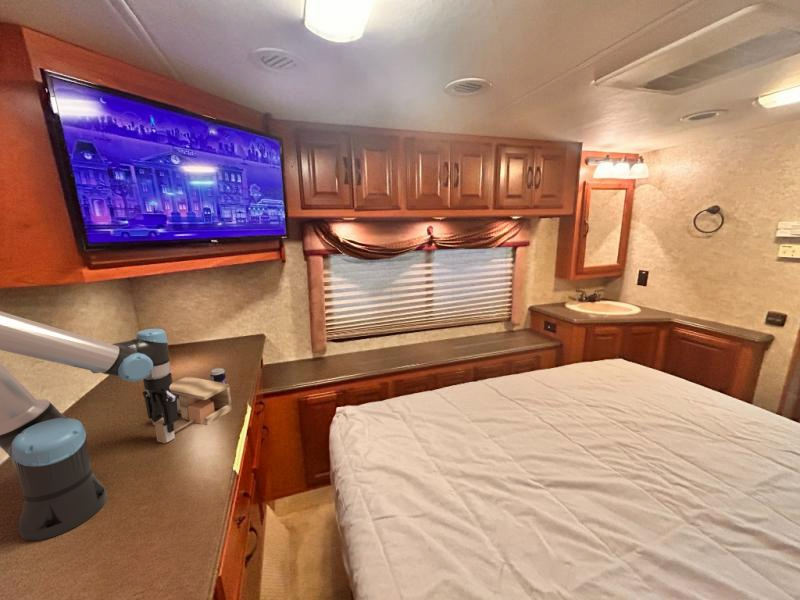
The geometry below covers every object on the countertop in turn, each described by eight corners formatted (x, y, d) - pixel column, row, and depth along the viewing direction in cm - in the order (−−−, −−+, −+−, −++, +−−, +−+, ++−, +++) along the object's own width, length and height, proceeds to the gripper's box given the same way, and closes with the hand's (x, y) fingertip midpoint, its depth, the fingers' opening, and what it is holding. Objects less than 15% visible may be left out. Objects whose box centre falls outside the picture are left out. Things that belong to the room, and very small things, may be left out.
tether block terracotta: (167, 444, 107) (164, 425, 105) (154, 440, 109) (152, 422, 107) (215, 415, 124) (213, 399, 123) (203, 413, 126) (201, 397, 125)
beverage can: (220, 399, 137) (218, 373, 135) (209, 397, 138) (206, 372, 136) (230, 393, 143) (227, 368, 141) (219, 391, 144) (216, 367, 142)
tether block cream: (161, 427, 117) (159, 409, 115) (150, 424, 118) (147, 407, 117) (199, 407, 131) (197, 391, 129) (188, 404, 133) (186, 389, 131)
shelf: (207, 424, 118) (204, 397, 116) (164, 413, 125) (160, 387, 123) (231, 409, 129) (229, 384, 127) (190, 400, 136) (187, 376, 134)
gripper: (186, 374, 106) (193, 437, 110) (151, 367, 111) (160, 428, 115) (163, 383, 99) (172, 450, 103) (127, 375, 104) (137, 440, 108)
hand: (165, 438), depth 109 cm, fingers closed on tether block terracotta, 3 cm apart
